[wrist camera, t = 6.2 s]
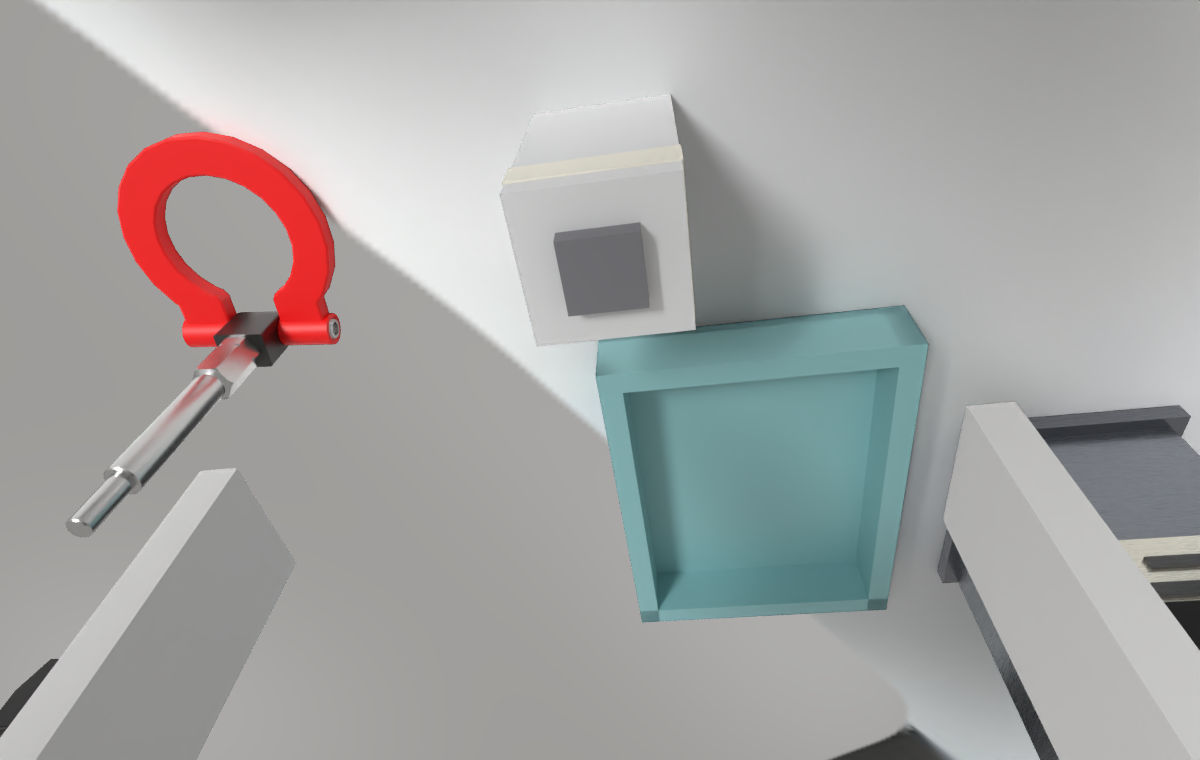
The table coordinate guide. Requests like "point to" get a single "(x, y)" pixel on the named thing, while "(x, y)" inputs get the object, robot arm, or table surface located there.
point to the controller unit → (1114, 514)
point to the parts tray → (763, 461)
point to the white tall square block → (602, 222)
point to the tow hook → (214, 294)
